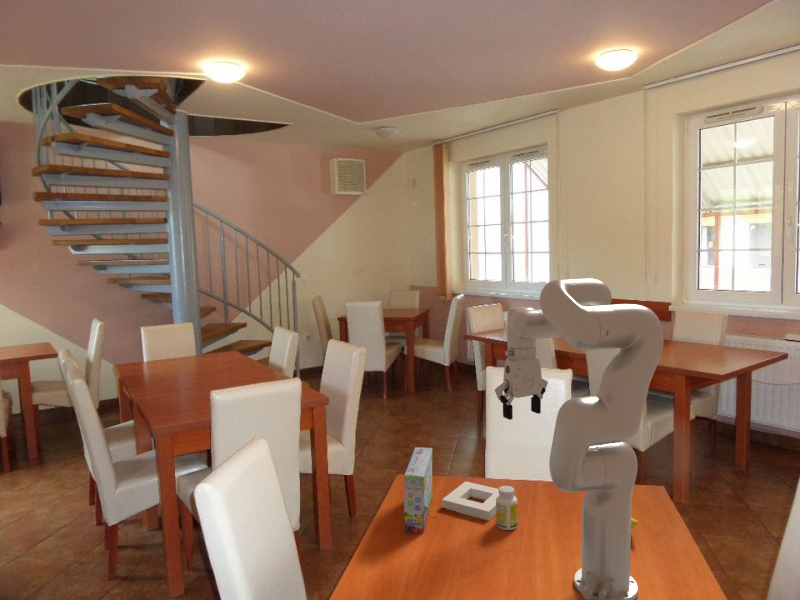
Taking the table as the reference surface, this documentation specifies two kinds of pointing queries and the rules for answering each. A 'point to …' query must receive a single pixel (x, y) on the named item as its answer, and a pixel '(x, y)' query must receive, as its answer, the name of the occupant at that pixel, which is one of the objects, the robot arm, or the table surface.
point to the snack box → (418, 490)
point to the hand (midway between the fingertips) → (522, 415)
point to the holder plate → (462, 505)
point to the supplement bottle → (506, 508)
